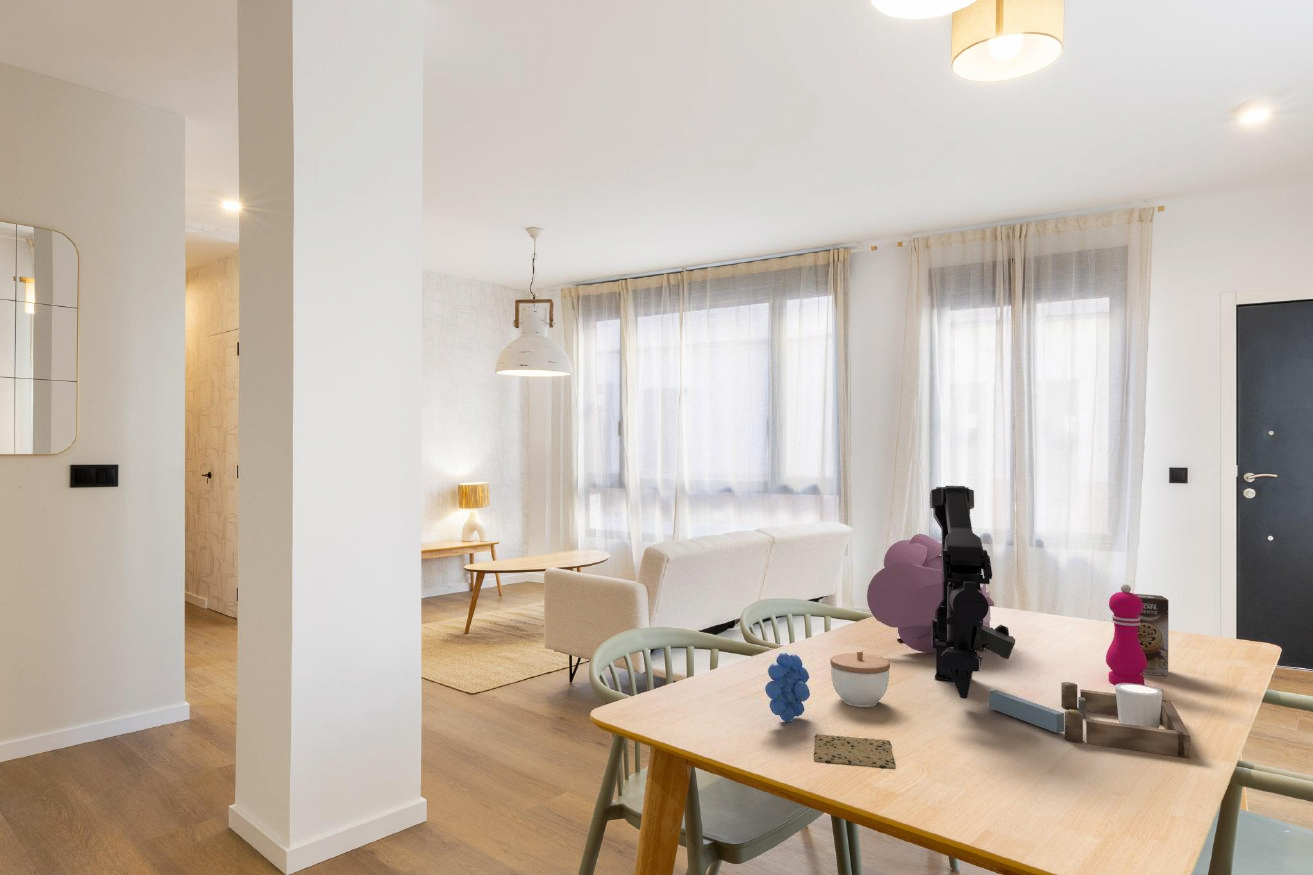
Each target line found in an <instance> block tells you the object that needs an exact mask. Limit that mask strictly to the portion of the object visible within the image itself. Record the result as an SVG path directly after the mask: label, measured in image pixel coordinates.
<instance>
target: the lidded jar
mask: <svg viewBox="0 0 1313 875" xmlns="http://www.w3.org/2000/svg"><path fill="white" fill-rule="evenodd" d="M863 652H864V651H862V650H857V652H855V653H854V652H853V653H851V652H848V653H839V654H835V655H833V656H831V658H830V659H829V660H830V662H829V663H830V673H831V675H830V676H831V681H832V686H833V688H834V691H835V692H836V694H837V695H838V696H839V697H840V699H841V700H842V702H843V703H844V704H845V705H848V706H851V707H856V708H871V707H875V706H877V705H878V702H879V701H880V700H882V699H883V698H884V696H885V694H886V693H887V690H888V686H889V683H890V680H889V679H890V668H891V663H890V661H889V659H886V658H884V657H882V656H879V655H875V654H868V653H863Z"/></svg>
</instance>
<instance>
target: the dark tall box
mask: <svg viewBox="0 0 1313 875" xmlns="http://www.w3.org/2000/svg"><path fill="white" fill-rule="evenodd" d="M1118 592H1119V591H1118ZM1118 592H1115V593H1118ZM1134 594H1135V595H1137V596H1138V597H1139V598H1140V599H1141V600H1142V603H1143V611H1142V612H1141V613H1140V614H1139V616H1138V617H1139V618H1140V620H1139V621H1140V625H1138V631H1137V632H1138V640H1139V643H1140V645H1141V648H1142V650H1143V652H1144V654H1145V656H1146V660H1147V668H1146V670H1145V671H1144V672H1142V673H1141V674H1145V675H1154V676H1165V677H1168V676H1169V599H1167V598H1166V597H1164V596H1163V595H1156V594H1142V593H1134Z"/></svg>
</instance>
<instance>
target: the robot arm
mask: <svg viewBox="0 0 1313 875" xmlns="http://www.w3.org/2000/svg"><path fill="white" fill-rule="evenodd" d="M929 507H930V509H932V513H933V514H932V515H933V519H934V520H935V521H936V523H937V524H938V527H939V528H940V529H941V530H940V531H941V534H940V537H941V538H940V540H941V544H942V549H941V555H940V556H941V566H942V600H941V602H940V604H939V605H938V607H937V609H936V610H935V619H932V624H931V646H932V649H935V648H936V652H935V675H934V679H935V680H939V681H940V680H942V681H949V682H954V686H955V687H956V690H957V693H958V695H959V698H960V699H964V700H965V699H968V697H969V691H970V687H971V681H972V678H973V673H974V672H975V673H977V672H980V669H981V666H982V662H983V657H982V656H981V655H980V654H979V653H978V652H977V651H979V652H985V650H987V651H990V652H992V653H994V654H997V655H999V657H1001V658H1003V659H1006V660H1009V659H1010V658H1011V655H1012V652H1013V649H1014V647H1015V645H1016V638H1014V636H1012V635H1011V636H1010V630H1009V627H1007V626H1005V625H1003V624H998V625H997V627H995V628H993V627H991V626H990V628H989V627H986V626H984V625H983V619H984V618H985V616H986V615H987V613H988V609H989V605H988V602H987V599H986V598H985V596H984V595H983V594H982V592H981V585H983V584H986V585H991V584H990V583H991V581H990V580H992V578H993V570H992V562H991V557H990V555H989V554H988V550H987V549H984V548H983V543H982V539H981V537H979V536H978V535H977V534H975V533H974V532H973V527H972V520H971V510H973V509H974V508H975V490H974V489H970V488H969V487H966V485H945V486H936V487H935V488H933V489H931V490H930V493H929ZM935 639H938V641H935Z"/></svg>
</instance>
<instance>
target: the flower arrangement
mask: <svg viewBox="0 0 1313 875" xmlns="http://www.w3.org/2000/svg"><path fill="white" fill-rule="evenodd" d="M941 549H942V542H940V541H937V540H935V539H934V538H932V537H930V536H929V535H927V534H924V533H917V534H915V535H913V536H912V537H911V539H903V540H898V541H896V542H895V543H893V544H892V545H891V546H889V548H888V549H887V550H886V553H885V554H884V559H883V567H884V568H881V569H880V570H879V571H877V573H875V574H874V575H873V577H872V579H871V580H870V582H869V584H868V586H867V592H866V600H867V606H868V609H869V611H870V613H871V615H872V616H873V617H874V619H876V621H878V622H879V623H881V624H883V625H885V626H887V627H890V628H895V629H896V628H897V632H898V633H897V634H898V636H897V637H896V639H899V640H900V639H901V640H902V641H903V643H904V644H905V645H906V646H907V647H909V648H910V649H912V650H915V651H917V652H922V653H936V648H935V649H932V646H931V624H932V619H935V610H936V609H937V607H938V605H939V604H940V602H941V600H942V566H941ZM986 586H987V584H982V587H981V586H980V587H981V592H982V594H983V595H984V596H985V598H986V599H987V602H988V605H989V609H988V613H987V615H986V616H985V618H984V619H983V625H984V626H986V627H989V628H991V625H990V622H991V607H994V606H995V602H994V601H993V599H992V597H991V596H990V593H991V592H990V590H987V587H986ZM935 641H938V639H935Z"/></svg>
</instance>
